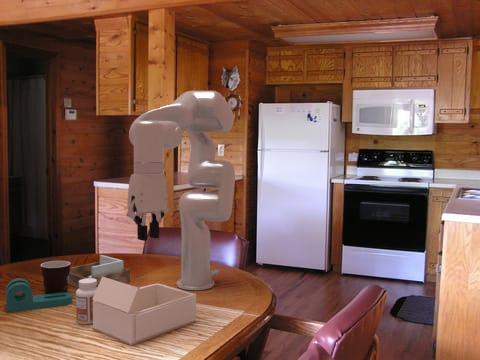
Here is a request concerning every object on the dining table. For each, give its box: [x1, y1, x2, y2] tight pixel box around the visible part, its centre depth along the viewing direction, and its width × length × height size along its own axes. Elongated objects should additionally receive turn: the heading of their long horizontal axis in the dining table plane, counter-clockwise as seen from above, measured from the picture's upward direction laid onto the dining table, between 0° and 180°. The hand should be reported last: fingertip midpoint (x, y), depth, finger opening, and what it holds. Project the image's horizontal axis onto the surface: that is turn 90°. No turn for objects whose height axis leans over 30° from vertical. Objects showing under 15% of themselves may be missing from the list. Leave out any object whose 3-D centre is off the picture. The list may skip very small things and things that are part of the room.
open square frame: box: [68, 261, 131, 289], centre depth 179 cm, size 17×17×4 cm
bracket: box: [5, 277, 73, 314], centre depth 154 cm, size 18×7×8 cm, turn 115°
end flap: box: [92, 277, 140, 313], centre depth 131 cm, size 1×14×6 cm, turn 50°
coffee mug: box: [40, 260, 71, 294], centre depth 164 cm, size 12×9×10 cm
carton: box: [92, 283, 197, 346], centre depth 139 cm, size 22×17×8 cm
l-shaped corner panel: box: [88, 254, 124, 278], centre depth 178 cm, size 12×12×8 cm
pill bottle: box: [75, 277, 97, 325], centre depth 142 cm, size 6×6×11 cm
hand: (148, 238), depth 138 cm, fingers open, 3 cm apart
